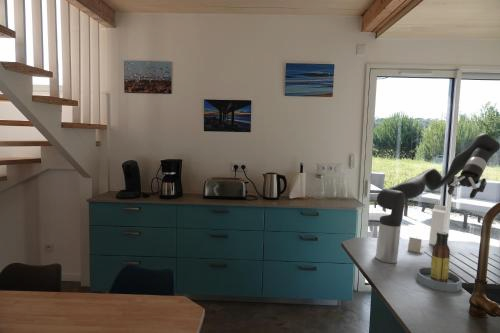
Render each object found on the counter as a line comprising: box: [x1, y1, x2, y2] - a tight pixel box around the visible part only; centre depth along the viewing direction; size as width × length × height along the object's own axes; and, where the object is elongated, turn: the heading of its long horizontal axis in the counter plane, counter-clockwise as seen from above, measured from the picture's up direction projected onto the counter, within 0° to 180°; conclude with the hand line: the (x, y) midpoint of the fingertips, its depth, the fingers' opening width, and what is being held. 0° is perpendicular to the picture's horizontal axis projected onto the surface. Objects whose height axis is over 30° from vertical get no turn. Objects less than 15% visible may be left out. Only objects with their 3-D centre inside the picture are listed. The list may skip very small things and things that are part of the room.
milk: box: [428, 204, 448, 246], centre depth 185 cm, size 6×6×22 cm
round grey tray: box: [415, 266, 463, 293], centre depth 134 cm, size 16×16×3 cm
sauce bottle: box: [430, 231, 451, 283], centre depth 134 cm, size 6×6×20 cm
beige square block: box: [407, 236, 425, 253], centre depth 172 cm, size 3×7×7 cm, turn 58°
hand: (459, 195), depth 146 cm, fingers open, 8 cm apart
